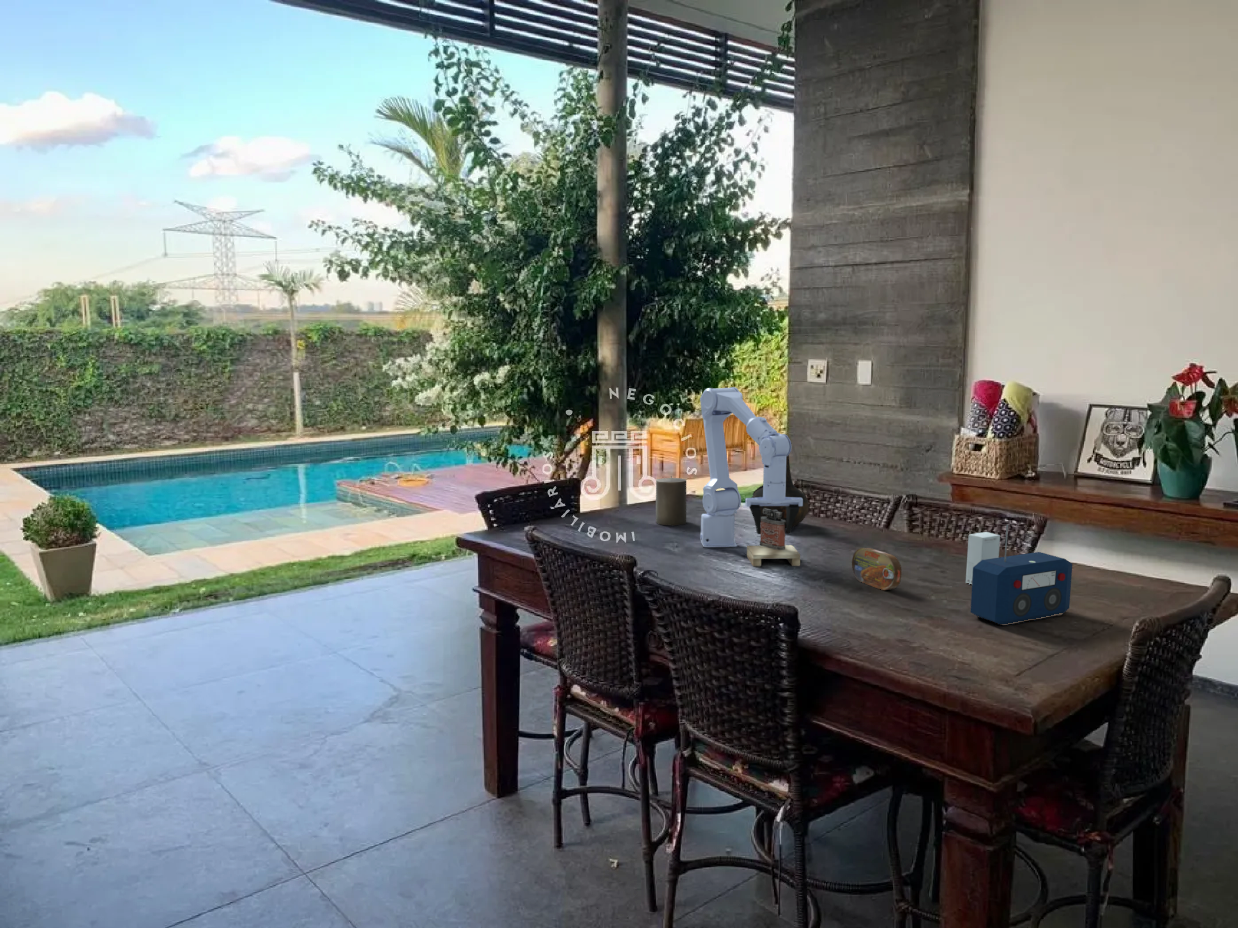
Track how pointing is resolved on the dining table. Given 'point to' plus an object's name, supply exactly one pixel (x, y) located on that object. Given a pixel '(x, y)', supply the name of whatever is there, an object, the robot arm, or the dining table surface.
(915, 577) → the dining table surface
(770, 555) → the shelf stand
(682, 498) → the pillar candle
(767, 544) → the lighter
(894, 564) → the tin
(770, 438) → the robot arm
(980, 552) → the skincare box
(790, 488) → the dark brown vase
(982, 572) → the radio
